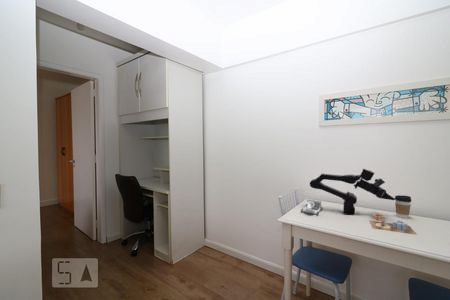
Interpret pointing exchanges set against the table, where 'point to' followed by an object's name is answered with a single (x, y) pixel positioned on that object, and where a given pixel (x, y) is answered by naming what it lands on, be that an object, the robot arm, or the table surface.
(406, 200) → the coffee cup
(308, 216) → the table surface
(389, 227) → the gear board
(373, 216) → the gear
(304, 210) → the phone holder
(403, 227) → the gear
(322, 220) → the table surface
